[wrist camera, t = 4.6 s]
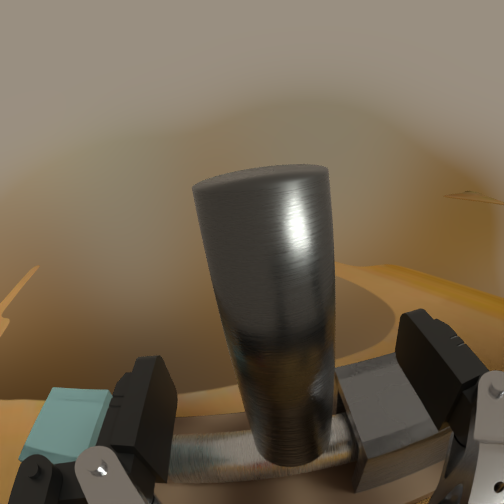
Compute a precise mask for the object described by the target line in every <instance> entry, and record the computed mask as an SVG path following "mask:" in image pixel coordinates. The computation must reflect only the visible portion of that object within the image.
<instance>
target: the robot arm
mask: <svg viewBox="0 0 504 504" xmlns="http://www.w3.org/2000/svg"><path fill="white" fill-rule="evenodd" d="M395 354H396V359H397V362H398V364H399V366H400V368H401V369H402V371H403V372H404V374H405V376H406V377H407V379H408V381H409V382H410V384H411V385H412V387H413V389H414V390H415V392H416V394H417V395H418V397H419V399H420V400H421V402H422V404H423V406H424V407H425V409H426V411H427V412H428V414H429V416H430V418H431V419H432V421H433V423H434V425H435V426H436V428H437V430H438V432H439V431H441V430H443V429H445V428H447V427H449V426H450V427H451V429H452V433H451V435H450V439H449V444H448V449H447V453H446V457H445V461H444V465H443V469H442V473H441V477H440V480H439V483H438V485H437V487H436V489H435V491H434V493H433V495H432V497H431V499H430V501H429V503H428V504H504V372H502V371H489V370H488V369H487V368H486V367H485V365H484V364H483V363H482V362H481V361H480V360H479V358H478V357H477V356H476V355H475V354H474V353H473V351H472V350H471V349H470V348H469V347H468V346H467V345H466V344H464V341H463V340H462V339H461V338H460V337H459V336H457V334H456V333H455V331H454V330H453V329H452V328H451V327H450V326H449V325H447V324H445V323H444V322H442V321H440V320H438V319H434V320H433V318H432V317H431V316H430V315H429V314H428V313H427V312H426V311H425V310H424V309H418V310H414V311H411V312H407V313H403V314H402V315H401V317H400V322H399V329H398V335H397V341H396V347H395ZM112 396H113V398H111V401H110V403H109V408H108V409H107V412H106V415H105V418H104V421H103V424H102V427H101V430H100V433H99V436H98V440H97V443H96V445H95V446H93V447H90V448H88V449H86V450H84V451H83V452H82V453H81V454H80V455H79V456H78V458H77V460H76V461H73V462H65V463H58V464H53V463H52V462H51V461H50V460H49V459H48V458H46V457H45V456H43V455H40V454H34V455H31V456H28V457H27V458H26V459H24V460H23V462H22V463H21V465H20V467H19V469H18V472H17V475H16V478H15V482H14V485H13V488H12V491H11V495H10V498H9V502H8V504H162V503H161V501H160V500H159V498H158V497H157V496H156V494H155V493H154V487H155V483H167V479H168V470H169V462H170V454H171V446H172V438H173V431H174V423H175V416H176V409H177V392H176V388H175V386H174V383H173V381H172V379H171V377H170V374H169V372H168V370H167V368H166V365H165V363H164V361H163V359H162V357H161V356H147V357H138V358H137V359H136V362H135V365H134V368H133V371H132V372H130V373H125V374H124V376H123V377H122V378H121V379H120V380H119V381H118V382H117V384H116V387H115V389H114V392H113V395H112Z"/></svg>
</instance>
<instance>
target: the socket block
mask: <svg viewBox="0 0 504 504" xmlns="http://www.w3.org/2000/svg"><path fill="white" fill-rule="evenodd" d="M111 398H113V396H112V395H111V393H110V392H109V390H93V389H71V388H56V387H53V389H52V390H51V392H50V394H49V396H48V398H47V400H46V402H45V403H44V405H43V407H42V409H41V411H40V413H39V415H38V417H37V419H36V421H35V423H34V425H33V428H32V430H31V432H30V434H29V436H28V438H27V440H26V443H25V445H24V447H23V449H22V451H21V454H20V456H19V458H18V459H19V460H20V461H21V462H23V460H24V459H26V458H27V457H28V456H31V455H34V454H40V455H43V456H45V457H46V458H48V459H49V460H50V461H51V462H52V463H53V464H58V463H65V462H73V461H76V460H77V458H78V456H79V455H80V454H81V453H82V452H83V451H84V450H86V449H88V448H90V447H93V446H95V445H96V443H97V440H98V436H99V433H100V430H101V427H102V424H103V421H104V418H105V415H106V412H107V409H108V408H109V403H110V401H111Z"/></svg>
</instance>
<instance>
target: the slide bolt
mask: <svg viewBox="0 0 504 504" xmlns="http://www.w3.org/2000/svg"><path fill="white" fill-rule="evenodd" d="M192 191H193V196H194V200H195V206H196V211H197V215H198V221H199V225H200V230H201V235H202V239H203V244H204V248H205V253H206V258H207V262H208V267H209V271H210V275H211V280H212V284H213V288H214V293H215V297H216V301H217V305H218V309H219V313H220V317H221V321H222V325H223V329H224V334H225V337H226V341H227V345H228V349H229V353H230V357H231V361H232V364H233V368H234V372H235V375H236V379H237V383H238V387H239V390H240V394H241V397H242V401H243V404H244V408H245V411H246V415H247V418H248V422H249V425H250V429H251V430H243V431H233V432H221V433H207V434H185V435H173V438H172V446H171V454H170V462H169V470H168V475H169V477H170V479H171V480H172V481H173V482H174V483H223V482H239V481H251V480H260V479H268V478H276V477H283V476H289V475H295V474H301V473H306V472H311V471H316V470H321V469H325V468H330V467H334V466H338V465H342V464H346V463H350V462H353V461H357V459H358V456H359V452H360V449H359V446H358V443H357V440H356V437H355V434H354V432H353V429H352V426H351V423H350V420H349V418H348V415H347V412H343V413H339V414H335V415H332V411H333V394H334V372H335V264H334V242H333V224H332V209H331V195H330V183H329V173H328V169H327V168H326V167H324V166H319V165H306V164H296V165H277V166H268V167H259V168H253V169H246V170H241V171H236V172H232V173H227V174H223V175H219V176H215V177H213V178H209V179H206V180H204V181H201V182H199V183H197V184H195V185H194V186H193V187H192Z"/></svg>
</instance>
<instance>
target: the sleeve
mask: <svg viewBox="0 0 504 504" xmlns="http://www.w3.org/2000/svg"><path fill="white" fill-rule="evenodd" d="M343 412H347V415H348V418H349V420H350V423H351V426H352V429H353V432H354V434H355V437H356V440H357V443H358V446H359V449H360V452H359V456H358V459H357V463H356V466H355V470H354V473H353V476H352V480H351V482H352V485H353V489H354V492H355V494H356V493H359V492H363V491H366V490H369V489H373V488H376V487H379V486H382V485H385V484H387V483H390V482H393V481H396V480H398V479H401V478H404V477H406V476H409V475H411V474H414V473H416V472H418V471H421V470H423V469H425V468H428V467H430V466H432V465H434V464H436V463H438V462H441V461H443V460H445V457H446V453H447V449H448V444H449V439H450V435H451V433H452V429H451V427H450V426H449V427H447V428H445V429H443V430H441V431H439V432H438V430H437V428H436V426H435V425H434V423H433V421H432V419H431V418H430V416H429V414H428V412H427V411H426V409H425V407H424V406H423V404H422V402H421V400H420V399H419V397H418V395H417V394H416V392H415V390H414V389H413V387H412V385H411V384H410V382H409V381H408V379H407V377H406V376H405V374H404V372H403V371H402V369H401V368H400V366H399V364H398V362H397V359H396V354H395V352H394V353H391V354H387V355H384V356H380V357H377V358H373V359H369V360H365V361H362V362H358V363H354V364H350V365H345V366H341V367H337V368H335V372H334V394H333V411H332V415H335V414H339V413H343Z"/></svg>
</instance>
